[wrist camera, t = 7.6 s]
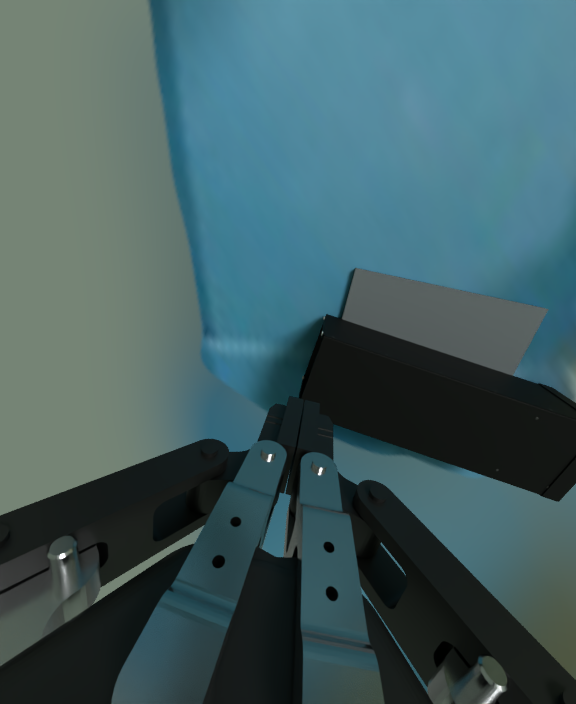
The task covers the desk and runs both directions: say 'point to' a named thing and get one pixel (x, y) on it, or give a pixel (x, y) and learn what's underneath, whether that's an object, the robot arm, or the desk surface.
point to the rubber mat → (444, 318)
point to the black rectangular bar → (444, 407)
